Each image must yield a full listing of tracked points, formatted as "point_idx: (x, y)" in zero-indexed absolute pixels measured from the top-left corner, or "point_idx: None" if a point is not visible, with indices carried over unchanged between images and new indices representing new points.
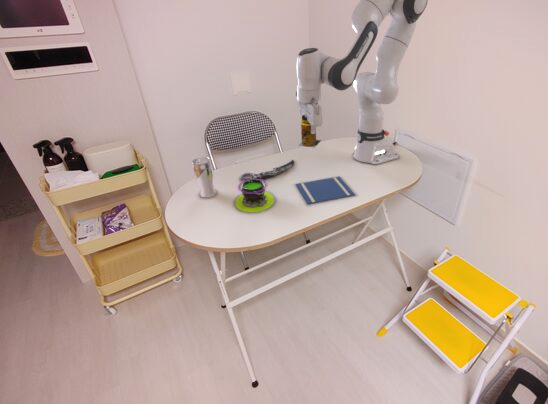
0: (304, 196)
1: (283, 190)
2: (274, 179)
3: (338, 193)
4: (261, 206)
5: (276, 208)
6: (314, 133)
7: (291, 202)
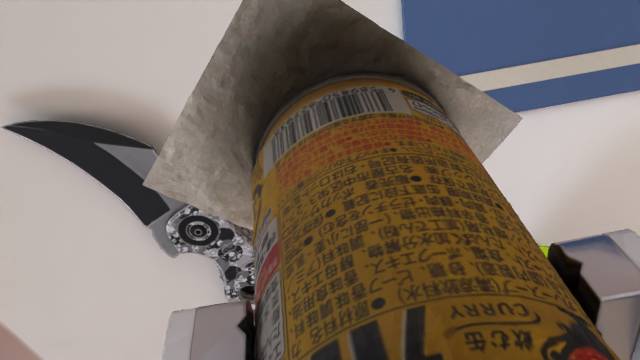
0: (579, 96)
1: None
2: None
3: None
4: None
5: None
6: (622, 242)
7: (591, 168)
